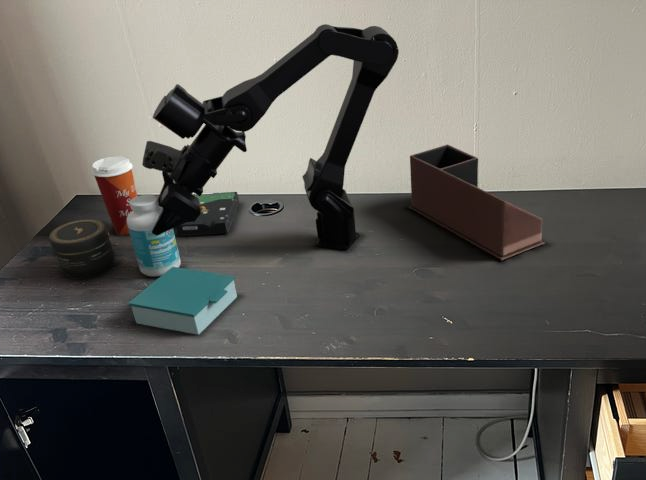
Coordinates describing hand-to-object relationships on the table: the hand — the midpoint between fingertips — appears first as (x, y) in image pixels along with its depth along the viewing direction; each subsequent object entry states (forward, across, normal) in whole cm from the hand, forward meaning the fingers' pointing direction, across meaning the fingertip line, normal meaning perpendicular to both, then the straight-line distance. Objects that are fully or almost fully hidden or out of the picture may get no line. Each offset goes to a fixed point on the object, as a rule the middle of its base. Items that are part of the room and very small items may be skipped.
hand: (154, 222), depth 130 cm
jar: (+16, -5, -3) cm, 17 cm away
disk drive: (0, -18, +12) cm, 22 cm away
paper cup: (+12, -20, +1) cm, 23 cm away
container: (+4, +16, +9) cm, 19 cm away
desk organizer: (-35, +2, +48) cm, 59 cm away
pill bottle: (+7, 0, +6) cm, 9 cm away
